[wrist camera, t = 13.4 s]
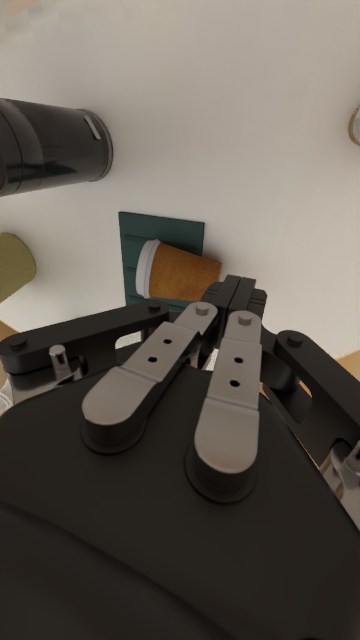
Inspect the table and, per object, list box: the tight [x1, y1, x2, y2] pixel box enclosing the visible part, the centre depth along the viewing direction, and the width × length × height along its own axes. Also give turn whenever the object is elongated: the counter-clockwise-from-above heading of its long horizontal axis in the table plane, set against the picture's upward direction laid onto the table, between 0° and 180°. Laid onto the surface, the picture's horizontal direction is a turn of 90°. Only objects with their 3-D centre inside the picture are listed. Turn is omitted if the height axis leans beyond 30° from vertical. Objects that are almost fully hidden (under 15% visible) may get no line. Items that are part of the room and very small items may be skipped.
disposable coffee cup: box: [136, 239, 222, 301], centre depth 43 cm, size 10×10×12 cm
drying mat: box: [118, 212, 205, 312], centre depth 50 cm, size 15×20×1 cm
